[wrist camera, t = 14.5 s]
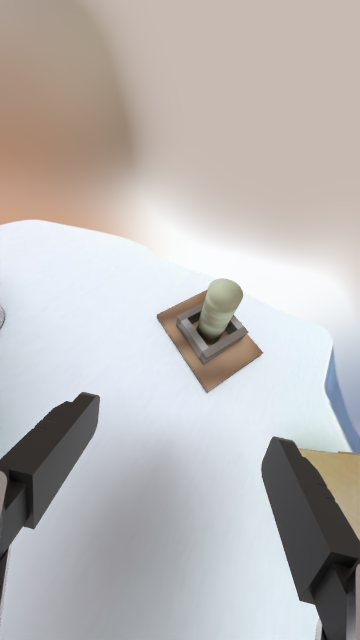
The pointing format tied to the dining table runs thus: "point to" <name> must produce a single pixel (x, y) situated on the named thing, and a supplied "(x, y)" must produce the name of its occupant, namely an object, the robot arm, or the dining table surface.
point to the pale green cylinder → (218, 309)
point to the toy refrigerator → (340, 480)
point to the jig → (208, 359)
